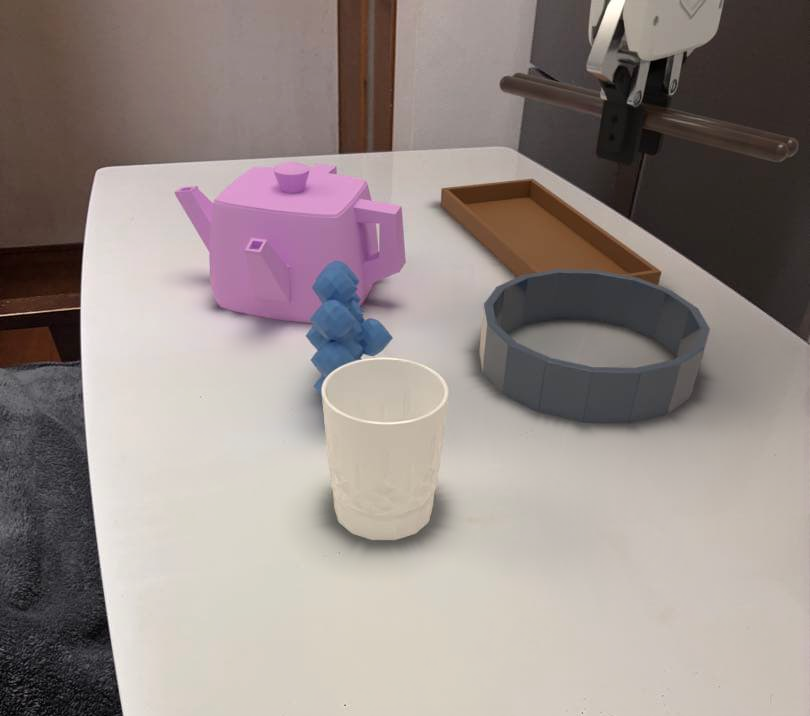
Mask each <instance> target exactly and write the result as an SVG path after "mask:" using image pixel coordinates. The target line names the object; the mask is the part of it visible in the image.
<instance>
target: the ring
mask: <svg viewBox="0 0 810 716" xmlns="http://www.w3.org/2000/svg"><path fill="white" fill-rule="evenodd" d="M482 309H483V310H482V319H481V327H480V328H481V329H480V339H479V340H480V341H479V351H478V354H479V361H480V365H481V372H482V374H483V375H484V376H485V377H486V379H488V381H490V383H491V384H492V385H493V386H494V387H495V388H496V390H498V391H499V392H500V393H501V394H502V395H503V396H505V397H507V398H509V399H511V400H513V401H515V402H518V403H519V404H521V405H523V406H525V407H527V408H529V409H530V410H533V411H535V412H538V413H541V414H545V415H549V416H553V417H558V418H562V419H566V420H571V421H576V422H579V423H585V424H587V423H590V424H591V423H593V424H632V423H636V422H641V421H645V420H648V419H649V420H650V419H654V418H657V417H661V416H667V415H668V414H669V413H671V412H673V411H675V409H676V408H678V407H679V406H681V405H683V403H686V402H687V401H688V400H689V399H690V398H691V397H692V394H693V391H694V387H695V384H696V380H697V377H698V372H699V370H700V366H701V364H702V363H701V362H702V359H703V355H704V352H705V349H706V345H707V341H708V338H709V334H710V332H711V328H710V326H709V324H708V323H707V321H706V320H705V318H704V316H703V314H702V313H701V311H700V309H699V308H698V307H697V306H695V305H693V303H691V302H689V301H688V300H686V299H685V298H683V297H682V296H681V295H679V294H677V293H676V292H675V291H673V290H671V289H670V288H669V289H668V288H666V287H663V286H660V285H656V284H653V283H650V282H647V281H645V280H642V279H639V278H636V277H631V276H626V275H621V274H615V273H610V272H604V271H599V270H569V269H558V270H550V271H544V272H538V273H532V274H526V275H521V276H519V277H517V276H516V277H515V278H512V279H511V280H508V281H506V282H504V283H502V284H499V285H497V286H496V287H495V288H494V289H493V290H492V292H491V293H490V295H489V296H488V298H487V299H486V300H485V302H484V303H483V307H482ZM548 320H590V321H594V322H600V323H604V324H610V325H613V326H614V325H615V326H619V327H620V326H621V327H623V328H626V329H629V330H631V331H634V332H636V333H638V334H641V335H644V336H646V337H649V338H651V339H654V340H655V341H656V342H657V343H659V344H660V345H662V346H663V347H664V348H665V349H667V350H668V351H669V352H671V354H674V356H676V358H673V359H672V360H671V359H670V360H666V361H662V362H657V363H652V364H648V365H642V366H638V367H617V366H616V367H615V366H614V367H613V366H607V367H606V366H590V365H585V364H580V363H577V362H573V361H572V362H571V361H567V360H562V359H558V358H553V357H550V356H547V355H546V354H543V353H541V352H538V351H537V350H534V349H532V348H530V347H527V346H526V345H523V344H521V343H520V342H517V341H516V340H515V339H513V337H511V335H509V333H508V332H511V331H513V330H514V329H516V328H518V327H520V326H522V325H528V324H532V323H537V322H544V321H548Z"/></svg>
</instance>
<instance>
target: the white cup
mask: <svg viewBox="0 0 810 716" xmlns="http://www.w3.org/2000/svg"><path fill="white" fill-rule="evenodd" d="M449 391H450V390H449V386H448V384H447V382H446V380H445V378H444V377H442V376H441V374H440V373H438V372H437V371H435V370H434V369H433V368H431V367H430V366H428V365H426V364H422V363H419V362H417V361H414V360H410V359H405V358H398V357H388V356H387V357H383V356H381V357H369V358H361V360H357V361H353V362H350V363H347V364H345V365H343V366H340V367H339V368H337V369H335V370H334V371H332V372H331V373H330V374H329V375H328V376H327V377H326V379H325V380H324V382H323V384H322V389H321V392H322V396H321V400H322V410H323V422H324V432H325V434H324V435H325V444H326V445H325V446H326V456H327V463H328V472H329V479H330V480H329V481H330V486H331V489H332V496H333V497H332V498H333V507H334V513H335V516H336V519H337V521H338V523H339V524H340V525H341V526H342V527H344V529H346V530H347V531H348V532H349V533H350V534H352V535H356V536H358V537H361V538H365V539H367V540H370V541H397V540H400V539H404V538H407V537H410V536H413V535H416V534H417V533H419V532H420V531H421V530H422V529H424V527H425V526H426V525H428V524H429V522H430V519H431V515H432V512H433V509H434V498H435V491H436V490H437V485H438V481H439V480H438V479H439V473H440V467H441V459H442V453H443V442H444V434H445V425H446V417H447V410H448V409H447V408H448V401H449V396H450V395H449Z"/></svg>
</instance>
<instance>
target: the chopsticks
mask: <svg viewBox="0 0 810 716" xmlns="http://www.w3.org/2000/svg"><path fill="white" fill-rule="evenodd" d="M499 88H500V91H502V92H503V93H504V94H510V95H512V96H513V95H514V96H517V97H521V98H525V99H529V100H533V101H536V102H540V103H544V104H548V105H552V106H556V107H559V108H563V109H566V110H567V109H568V110H571V111H575V112H579V113H583V114H586V115H591V116H595V117H599V118H601V116H602V109H603V103H604V100H602V99H601V96H600V93H601V91H598V90H594V89H589V88H585V87H582V86H579V85H578V86H577V85H573V84H570V83H565V82H561V81H558V80H557V81H556V80H553V79H549V78H543V77H540V76H536V75H531V74H528V73H524V72H514V73H513V74H512V75H505V76H502V78H500V80H499ZM640 105H644V106H646V112H645V117H644V122H643V128H645V129H649V130H653V131H656V132H660V133H664V135H669V136H672V137H677V138H680V139H684V140H688V141H692V142H695V143H700V144H704V145H707V146H711V147H714V148H719V149H723V150H726V151H731V152H734V153H737V154H742V155H746V156H749V157H754V158H756V159H757V158H758V159H761V160H765V161H769V162H773V163H781V162H783V161H785V160H786V159H787V158H791V157H793V156H794V155H795V154H796V153H797V152H798V150H799V142H798V140H797V139H796V138H794V137H790V136H786V135H782V134H777V133H774V132H769V131H765V130H761V129H757V128H753V127H749V126H745V125H741V124H738V123H737V124H736V123H732V122H728V121H724V120H720V119H715V118H712V117H708V116H703V115H699V114H694V113H690V112H686V111H682V110H678V109H673V108H671V107H670V108H666V107H661V106H657V105H653V104H649V103H645V102H641V103H640Z"/></svg>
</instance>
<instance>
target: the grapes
mask: <svg viewBox="0 0 810 716" xmlns="http://www.w3.org/2000/svg"><path fill="white" fill-rule="evenodd" d="M359 282H360V281H359V280H358V278H357V277H356V275H355V274H354V273H353V272H352V270H351V269H350V268H349V267H348V266H347V265H346V264H345V263H343V262H341V261H333V262H331V263H329V264H328V265H327V266H326V267H325V268H324V269H323V271H322V272H321V273H320V274H319V276H318V277H317V278H316V282H315V283H314V285H313V286H312V289H313V290H314V292H315V293H316V294H317V296H318V297H319V300H320V301H321V303H322V305H321V306H320V307H319V308H318V309H317V311H316V312H315V313H314V314H313V316H312V317H311V318H310V321H311V322H312V323H311V324H312V325H313V326H311V328H310V329H309V330H308V331H307V333H306V334H305V337H306V338H307V340H308V341H309V342H310V344H311V345H312V346H313V347H314V349H315V350H317V351H316V352H315V353H314V354H313V355H312V357H311V358H310V361H311V363H312V364H313V366H314V367H315V368H316V369H317V371H319V373H320V374H321V376H320V377H319V378H318V380H316V382H315V384H314V385H313V388H314V389H315V390H316V392H317V393H318V395H320V396H321V397H322V392H321V389H322V384H323V382H324V380H325V379H326V377H327V376H328V375H329V374H330V373H331V372H332V371H334V370H335V369H337V368H339V367H340V366H343V365H345V364H347V363H350V362H353V361H357V360H361V359H362V357H363V355H365V356H368V357H375V356H377V355H379V354H380V353H381V352H383V351H384V350H385V349H386V348H387V346H388V345H390V343H391V341H392V340H393V336H392V334H391V333H390V332H389V331H388V329H387V328H386V326H384V324H383V323H381V322H380V321H379V320H378V319H375V318H370V317H368V318H366V319H365V318H364V314H363V313H364V312H365V311H364V309H363V308H362V307H361V306H359V305H358V303H359V302H360V300H361V299H360V298H359V297H358V295H357V294H356V291H357V289H358V288H357V287H356V286H357V284H358V283H359Z"/></svg>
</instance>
